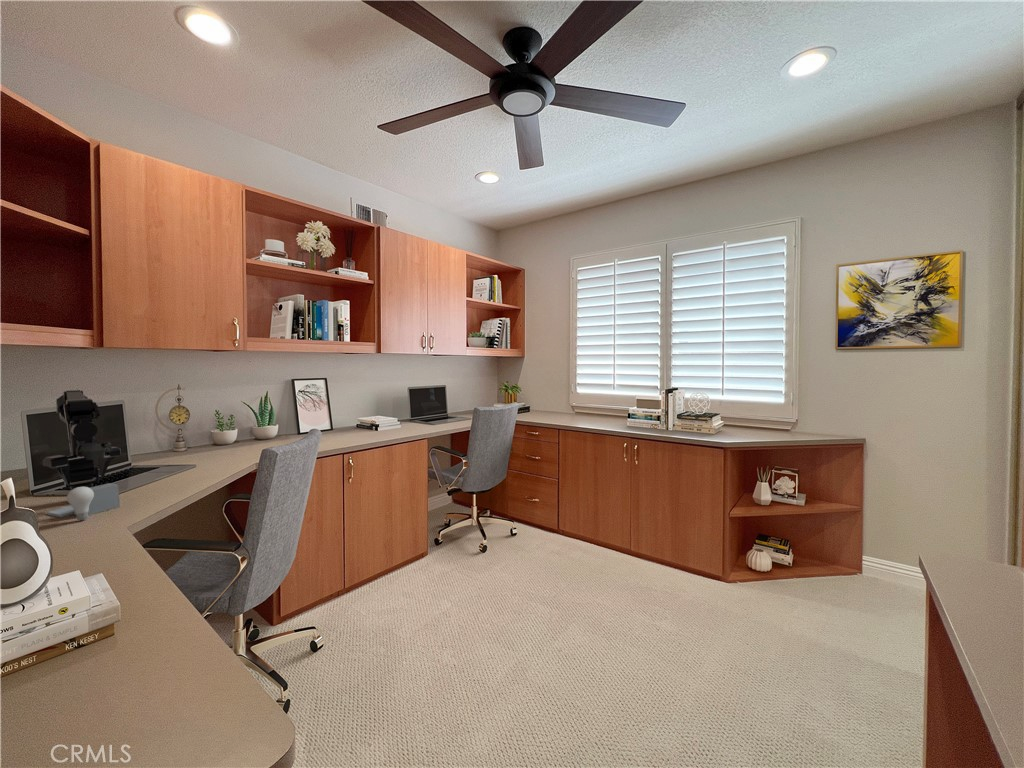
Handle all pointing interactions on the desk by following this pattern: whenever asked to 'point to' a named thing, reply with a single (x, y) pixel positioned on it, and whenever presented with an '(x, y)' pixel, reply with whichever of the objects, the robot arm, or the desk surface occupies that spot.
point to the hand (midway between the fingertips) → (85, 480)
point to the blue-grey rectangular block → (104, 498)
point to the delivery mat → (62, 512)
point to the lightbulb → (80, 501)
